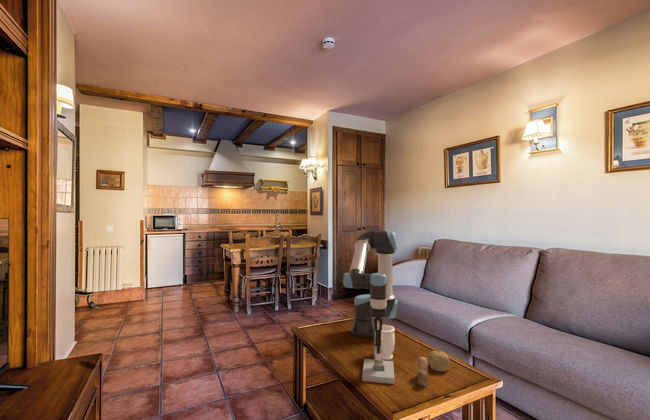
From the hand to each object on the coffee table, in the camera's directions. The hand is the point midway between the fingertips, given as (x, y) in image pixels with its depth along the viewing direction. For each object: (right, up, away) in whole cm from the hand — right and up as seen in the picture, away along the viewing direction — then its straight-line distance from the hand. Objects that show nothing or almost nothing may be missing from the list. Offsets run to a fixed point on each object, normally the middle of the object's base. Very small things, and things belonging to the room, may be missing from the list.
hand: (378, 357), depth 142 cm
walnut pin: (+18, -7, -9) cm, 21 cm away
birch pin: (0, -3, 0) cm, 3 cm away
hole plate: (0, -7, 0) cm, 7 cm away
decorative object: (+31, -8, +5) cm, 32 cm away
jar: (+6, -8, +17) cm, 20 cm away
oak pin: (+20, -7, -3) cm, 21 cm away
